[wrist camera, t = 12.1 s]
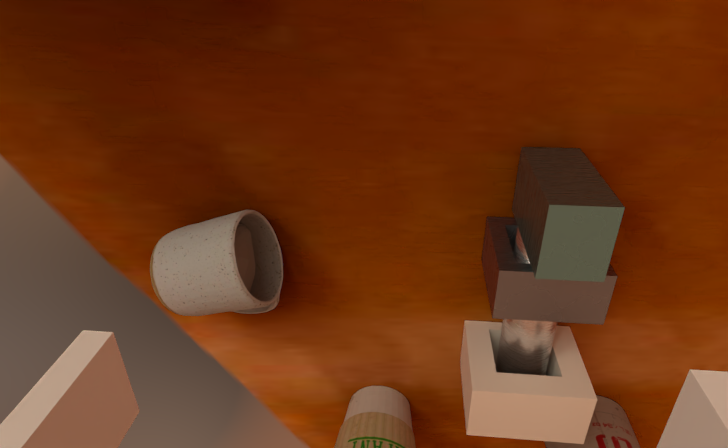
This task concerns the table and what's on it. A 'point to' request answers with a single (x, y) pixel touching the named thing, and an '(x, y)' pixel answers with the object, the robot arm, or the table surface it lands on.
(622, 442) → the thermos bottle
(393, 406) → the coffee cup
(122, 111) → the table surface
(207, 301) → the ceramic mug
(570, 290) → the square hollow collar
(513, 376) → the socket block
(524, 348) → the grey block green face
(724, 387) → the robot arm
